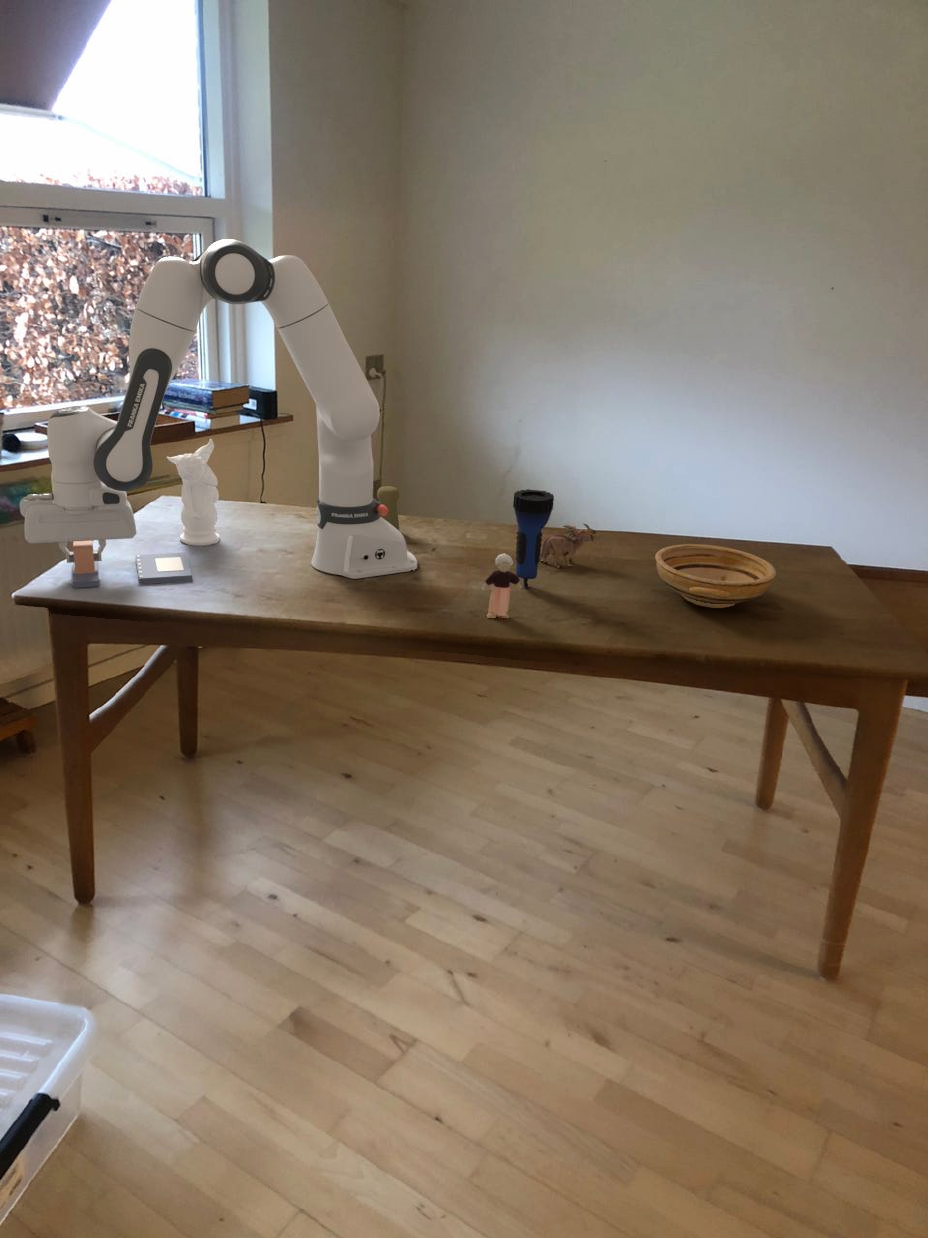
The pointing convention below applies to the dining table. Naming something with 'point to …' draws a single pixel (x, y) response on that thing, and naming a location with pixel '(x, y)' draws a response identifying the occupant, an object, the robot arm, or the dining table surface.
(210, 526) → the white tall statuette
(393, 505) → the cork
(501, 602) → the grandmother figurine
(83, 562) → the stub
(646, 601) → the dining table surface
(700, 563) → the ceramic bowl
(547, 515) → the flashlight
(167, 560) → the grey notebook
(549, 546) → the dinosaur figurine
